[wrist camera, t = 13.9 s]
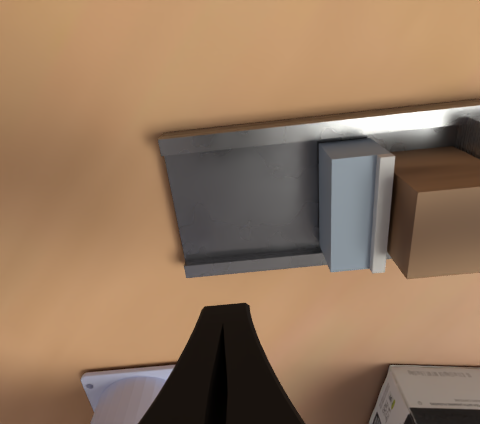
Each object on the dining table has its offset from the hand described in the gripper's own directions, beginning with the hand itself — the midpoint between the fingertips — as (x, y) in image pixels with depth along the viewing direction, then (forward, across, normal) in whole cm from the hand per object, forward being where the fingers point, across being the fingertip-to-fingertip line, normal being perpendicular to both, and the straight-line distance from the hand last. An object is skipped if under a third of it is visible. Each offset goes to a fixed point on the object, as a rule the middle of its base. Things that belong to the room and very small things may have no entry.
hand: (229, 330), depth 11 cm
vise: (+10, -6, 0) cm, 11 cm away
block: (+9, -9, 0) cm, 13 cm away
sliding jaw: (+9, -6, 0) cm, 11 cm away
